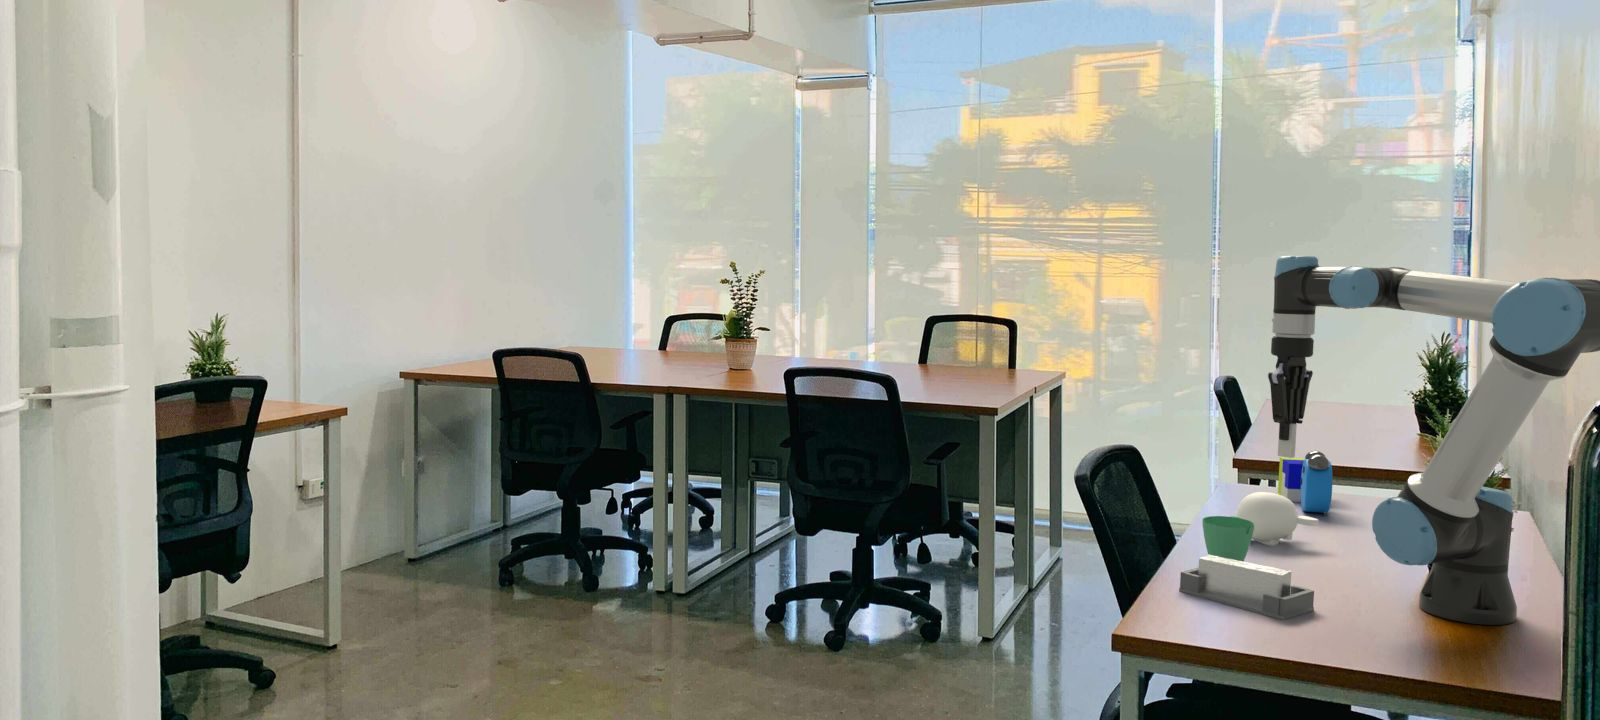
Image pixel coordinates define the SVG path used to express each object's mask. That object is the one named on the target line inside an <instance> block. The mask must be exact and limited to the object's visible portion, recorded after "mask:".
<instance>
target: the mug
mask: <svg viewBox="0 0 1600 720" xmlns="http://www.w3.org/2000/svg"><path fill="white" fill-rule="evenodd" d="M1202 529H1203V530H1202V531H1203V537H1204V542H1205V547H1206V551H1207V555H1213V556H1218V557H1223V558H1228V559H1233V560H1238V561H1243V562H1245V559H1246V556H1247V554H1248V552H1249V549H1250V545H1251V541H1252V540H1253V539H1252V535H1253V531H1254V523H1253V522H1251V521H1249V520H1246V519H1242V518H1239V517H1237V515H1231V516H1226V515H1225V516H1224V515H1223V516H1222V515H1211V516H1205V517H1203V518H1202Z"/></svg>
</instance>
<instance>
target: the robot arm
mask: <svg viewBox="0 0 1600 720" xmlns="http://www.w3.org/2000/svg"><path fill="white" fill-rule="evenodd" d="M1317 257H1318V256H1317ZM1317 257H1316V256H1315V255H1314V256H1313V255H1281V256H1280V257H1278V258H1277V259H1276V263H1275V265H1276V266H1275V273H1274V276H1273V279H1274V287H1273V288H1274V291H1273V292H1274V293H1273V295H1274V296H1273V297H1274V298H1273V311H1272V312H1273V316H1272V318H1271V322H1272V328H1271V329H1272V330H1271V331H1272V333H1273V334H1275V335H1274V336H1272V337H1271V345H1270V353H1271V355H1273V356H1276V357H1277V359H1276V363H1275V368H1276V369H1275V370H1274V372H1268V374H1267V379H1268V381H1269V385H1270V396H1271V397H1270V399H1271V410H1272V420H1273V422H1274V423H1276V424H1277V423H1279V424H1278V425H1279V426H1278V427H1279V428H1278V442H1277V456H1278V457H1289V458H1296V442H1297V441H1296V439H1297V424H1303V419H1304V416H1305V412H1306V411H1305V410H1306V407H1307V400H1308V395H1309V394H1308V393H1309V389H1310V383H1311V380H1312V378H1313V375H1314V372H1313V370H1310V369H1309V370H1308V369H1307V361H1306V358H1311V357H1313V356H1314V355H1313V354H1314V343H1315V339H1313V337H1312V336H1313V335H1314V334H1315V327H1316V309H1317V307H1327V308H1339V309H1340V308H1342V309H1345V310H1346V309H1347V310H1349V309H1351V310H1352V309H1356V310H1357V309H1365V308H1385V309H1386V308H1387V309H1392V310H1399V311H1409V312H1416V313H1423V314H1429V315H1436V316H1442V317H1449V318H1454V319H1455V318H1456V319H1462V320H1468V321H1475V322H1482V323H1487V324H1492V329H1491V330H1492V336H1491V338H1490V340H1489V342H1488V346H1489V348H1490V351H1491V353H1492V358H1491V359H1490V361H1489V363H1488V364H1487V365H1486V368H1485V369H1484V371H1483V373H1482V374H1481V376H1480V377H1479V379H1478V382H1476V384H1475V386H1474V388H1473V389H1472V391H1471V392H1470V394H1469V396H1468V398H1467V399H1466V401H1465V403H1464V405H1462V408H1461V409H1460V411H1459V413H1458V414H1457V416H1456V417H1455V419H1454V421H1453V422H1452V424H1451V426H1450V428H1449V429H1448V431H1447V433H1446V434H1445V435H1444V438H1443V439H1442V440H1441V442H1440V444H1439V446H1438V448H1437V449H1436V450H1435V453H1434V454H1433V456H1432V458H1431V459H1430V461H1429V463H1428V464H1427V466H1426V467H1425V469H1424V471H1423V472H1418V473H1414V474H1411V475H1410V476H1409V477H1408V478H1407V480H1406V482H1404V485H1403V486H1402V489H1401V490H1400V492H1399V494H1398V495H1397V496H1394V497H1388V498H1386V499H1385V500H1384V501H1381V502H1380V503H1379V504H1378V505H1377V506H1376V508H1375V509H1374V512H1373V514H1372V518H1371V519H1372V520H1371V527H1372V531H1373V533H1374V536H1375V537H1374V538H1375V542H1376V543H1377V545H1378V547H1379V548H1380V550H1381V551H1382V552H1383V553H1384V554H1385V555H1386V556H1387V557H1389V559H1391V561H1392V560H1393V561H1394V562H1396V563H1398V564H1401V565H1405V566H1418V567H1419V566H1427V565H1429V564H1430V565H1431V564H1432V566H1431V569H1430V571H1429V573H1428V575H1427V578H1426V580H1425V582H1424V584H1423V586H1422V588H1421V590H1420V593H1419V602H1418V606H1419V608H1420V609H1421V610H1422V611H1424V612H1426V613H1427V614H1430V615H1433V616H1436V617H1439V618H1443V619H1447V620H1450V621H1454V622H1455V621H1456V622H1459V623H1460V622H1461V623H1465V624H1466V623H1467V624H1472V625H1473V624H1474V625H1486V626H1500V625H1502V626H1503V625H1508V624H1509V625H1510V624H1513V623H1515V622H1516V621H1517V612H1518V607H1517V603H1516V599H1515V596H1514V593H1513V588H1512V586H1511V583H1510V579H1509V578H1510V577H1509V562H1510V550H1511V549H1510V548H1511V540H1512V539H1511V537H1512V527H1513V516H1515V515H1514V510H1513V507H1514V506H1513V505H1514V504H1513V497H1512V495H1511V494H1510V493H1509V492H1507V491H1505V490H1500V489H1497V488H1492V487H1486V486H1484V485H1485V484H1486V482H1487V480H1488V478H1489V477H1490V475H1491V474H1492V473H1493V471H1494V469H1495V467H1496V466H1497V464H1498V463H1499V461H1500V459H1501V458H1502V456H1503V455H1504V453H1505V451H1506V450H1507V449H1508V448H1509V445H1510V444H1511V442H1513V441H1512V440H1513V439H1514V438H1515V436H1516V434H1517V433H1518V432H1519V430H1520V428H1521V427H1522V426H1523V424H1524V422H1525V421H1526V419H1527V417H1528V416H1529V414H1530V413H1531V411H1532V409H1533V408H1534V406H1535V404H1536V403H1537V401H1538V399H1540V397H1541V396H1542V394H1543V392H1544V390H1545V389H1546V388H1547V386H1548V384H1549V383H1550V382H1551V381H1554V380H1559V379H1563V378H1565V377H1566V376H1567V375H1568V373H1569V371H1571V368H1572V367H1573V365H1574V364H1575V362H1576V361H1577V360H1578V358H1579V356H1580V355H1581V354H1587V353H1595V352H1600V280H1598V279H1590V278H1588V279H1587V278H1586V279H1582V278H1581V279H1580V278H1579V279H1573V278H1572V279H1570V278H1569V279H1567V278H1566V279H1562V278H1557V277H1540V278H1535V279H1531V280H1530V279H1529V280H1525V281H1522V282H1520V281H1510V280H1502V279H1501V280H1500V279H1494V278H1493V279H1492V278H1483V277H1477V276H1476V277H1475V276H1474V277H1473V276H1467V275H1466V276H1465V275H1457V274H1447V273H1441V272H1440V273H1439V272H1431V271H1430V272H1429V271H1423V270H1422V271H1420V270H1412V269H1409V268H1404V267H1399V266H1398V267H1397V266H1396V267H1395V266H1392V267H1390V266H1389V267H1372V266H1371V267H1366V266H1365V267H1361V266H1320V265H1319V259H1318V258H1317Z"/></svg>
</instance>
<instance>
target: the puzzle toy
mask: <svg viewBox="0 0 1600 720" xmlns="http://www.w3.org/2000/svg"><path fill="white" fill-rule="evenodd" d="M1304 460H1305V457H1293V458H1289V457H1282V456H1279V463H1278V465H1279V466H1278V481H1277V482H1278V485H1277V487H1278V488H1277V494H1278V493H1279V494H1278V495H1281V496H1284V497H1286V498H1288V499H1289V500H1290V501H1291V502H1296V503H1297V502H1298V503H1301V474H1302V466H1303V462H1304Z"/></svg>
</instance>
